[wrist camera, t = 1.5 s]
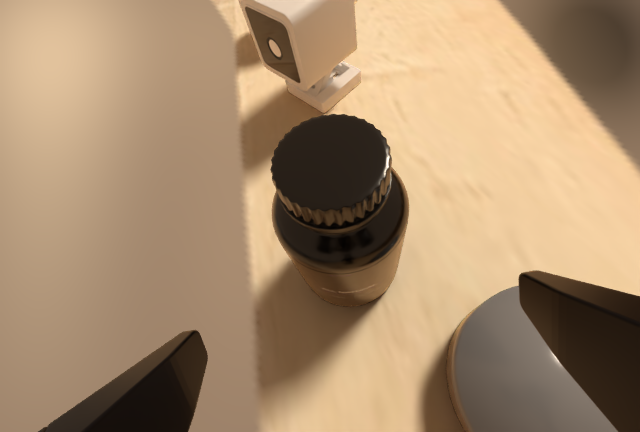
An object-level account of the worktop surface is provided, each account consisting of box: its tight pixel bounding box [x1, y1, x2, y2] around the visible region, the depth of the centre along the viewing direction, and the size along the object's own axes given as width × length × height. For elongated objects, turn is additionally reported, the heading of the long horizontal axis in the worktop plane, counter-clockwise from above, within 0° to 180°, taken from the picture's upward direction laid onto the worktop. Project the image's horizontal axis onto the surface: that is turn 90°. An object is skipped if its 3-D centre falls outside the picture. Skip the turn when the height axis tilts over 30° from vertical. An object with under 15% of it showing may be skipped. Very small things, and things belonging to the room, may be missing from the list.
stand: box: [446, 286, 618, 432], centre depth 16 cm, size 10×10×3 cm
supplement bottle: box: [271, 114, 409, 307], centre depth 17 cm, size 7×7×12 cm
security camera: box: [239, 0, 361, 113], centre depth 27 cm, size 6×7×10 cm
